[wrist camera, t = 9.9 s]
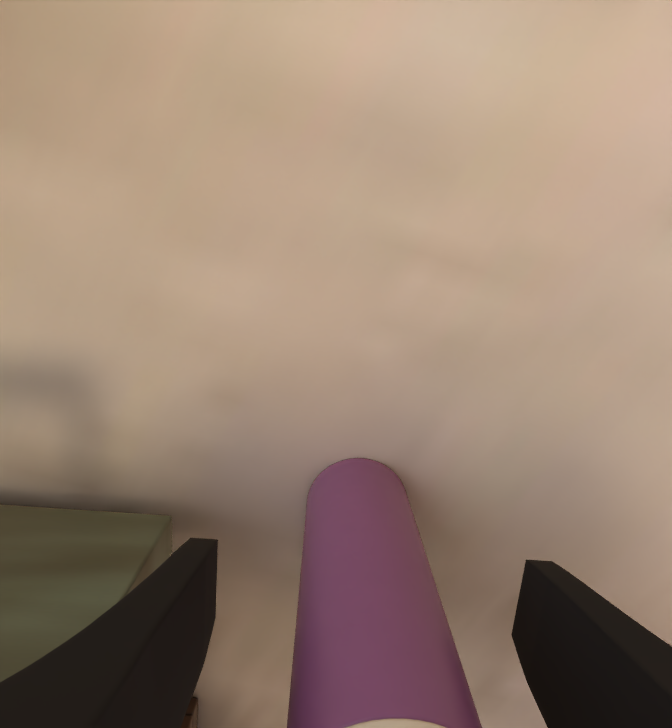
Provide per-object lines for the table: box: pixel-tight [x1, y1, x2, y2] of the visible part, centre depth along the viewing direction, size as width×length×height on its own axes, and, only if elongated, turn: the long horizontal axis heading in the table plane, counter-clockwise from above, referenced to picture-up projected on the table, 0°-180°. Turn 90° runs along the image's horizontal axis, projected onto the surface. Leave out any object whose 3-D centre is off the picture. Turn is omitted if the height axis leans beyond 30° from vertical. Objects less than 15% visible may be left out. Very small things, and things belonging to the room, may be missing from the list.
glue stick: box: [287, 458, 482, 728], centre depth 9 cm, size 3×3×10 cm
